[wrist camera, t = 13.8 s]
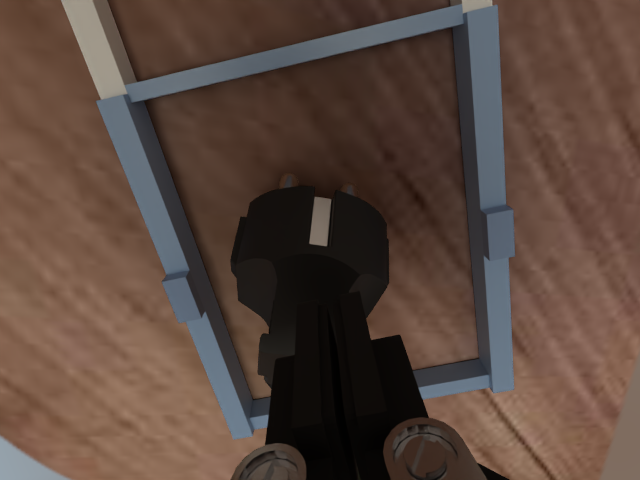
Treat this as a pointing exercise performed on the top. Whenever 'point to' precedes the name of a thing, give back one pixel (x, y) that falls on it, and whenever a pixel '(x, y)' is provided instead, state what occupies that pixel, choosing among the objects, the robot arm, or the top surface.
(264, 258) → the power plug
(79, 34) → the blue cream pronged frame
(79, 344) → the top surface
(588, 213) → the top surface
